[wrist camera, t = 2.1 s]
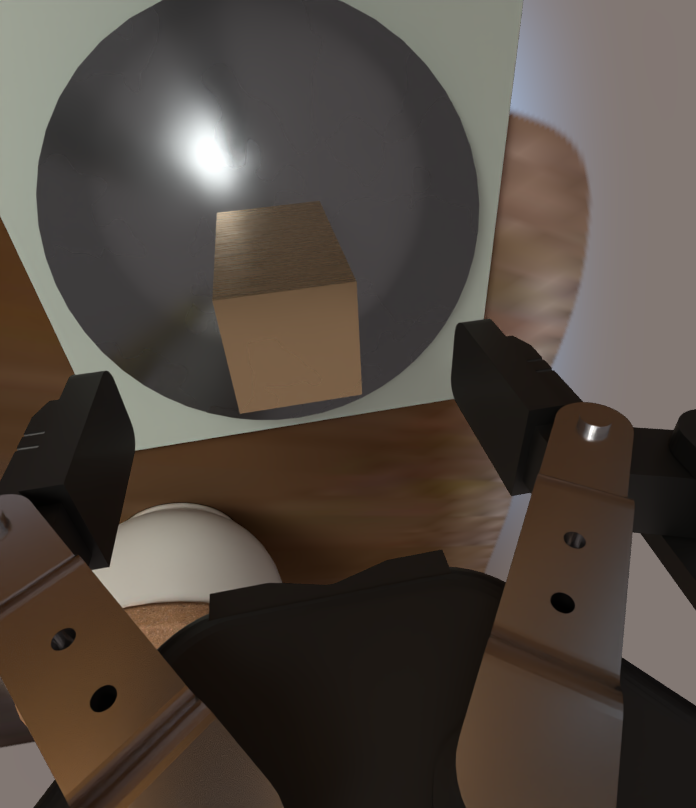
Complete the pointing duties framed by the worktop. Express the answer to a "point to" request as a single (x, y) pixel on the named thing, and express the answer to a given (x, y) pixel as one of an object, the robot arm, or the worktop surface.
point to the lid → (257, 204)
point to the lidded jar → (180, 565)
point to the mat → (387, 3)
